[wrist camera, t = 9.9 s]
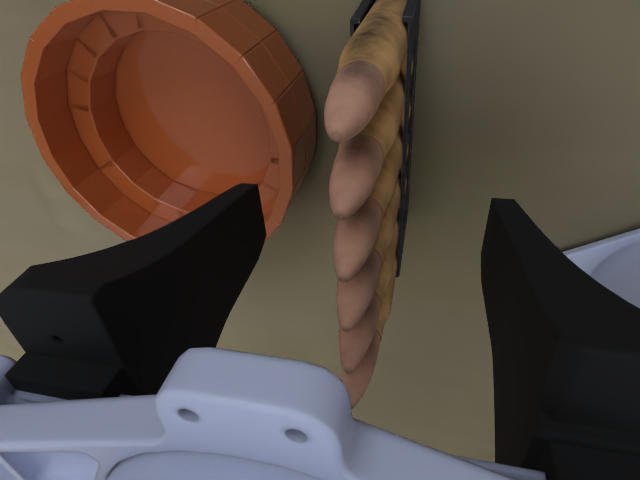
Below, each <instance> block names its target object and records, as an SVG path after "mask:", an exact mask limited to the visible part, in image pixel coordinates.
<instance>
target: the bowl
mask: <svg viewBox="0 0 640 480" xmlns="http://www.w3.org/2000/svg"><path fill="white" fill-rule="evenodd" d="M302 70H303V69H302V67H301V66H300V64H299V63H298V61H297V60H296V58H295V57H294V55H293V54H292V52H291V50H290V49H289V47H288V46H287V44H286V43H285V41H284V40H283V38H282V37H281V35H280V34H279V32H278V31H277V30H276V29H275V28H274V27H273V26H272V25H271V24H270V23H268V22H267V21H266V20H265V19H264V18H263V17H262V16H260V15H259V14H258V13H257V12H256V11H255V10H254V9H252V8H251V7H250V6H249V5H248V4H247V3H245V2H244V1H243V0H70V1H68V2H65V3H63V4H60V5H58V6H56V7H55V8H54V9H53V10H52V11H51V12H50V13H49V15H48V16H47V17H46V18H45V19H44V21H43V22H42V23H41V24H40V25H39V27H38V28H37V29H36V30H35V31H34V33H33V34H32V35H31V37H30V38H29V41H28V46H27V50H26V54H25V58H24V63H23V67H22V71H21V83H22V91H23V99H24V107H25V115H26V119H27V122H28V124H29V127H30V129H31V131H32V134H33V136H34V139H35V141H36V144H37V146H38V148H39V151H40V153H41V156H43V159H44V160H45V162H46V163H47V165H48V166H49V167H50V169H51V170H52V172H53V173H54V175H55V176H56V178H57V179H58V180H59V182H60V183H61V185H62V186H63V188H64V189H65V190H66V191H67V193H68V194H69V195H70V196H71V197H72V198H73V199H74V200H75V201H76V202H77V203H78V204H79V205H80V206H81V207H82V208H83V209H85V210H86V211H87V212H88V213H89V214H90V215H91V216H92V217H93V218H94V219H95V220H97V222H99V223H100V224H102V225H103V226H105V227H106V228H108V229H109V230H111V231H112V232H114V233H115V234H117V235H118V236H120V237H121V238H123V239H124V240H126V241H130V240H132V239H135V238H138V237H140V236H143V235H145V234H147V233H150V232H152V231H154V230H157V229H159V228H161V227H163V226H165V225H167V224H169V223H171V222H173V221H175V220H176V219H178V218H180V217H182V216H184V215H186V214H187V213H189V212H191V211H193V210H195V209H196V208H198V207H200V206H201V205H203V204H205V203H206V202H208V201H210V200H211V199H213V198H215V197H216V196H218V195H220V194H221V193H223V192H225V191H226V190H228V189H230V188H232V187H233V186H235V185H238V184H240V183H248V184H258V188H259V193H260V199H261V205H262V211H263V216H264V222H265V228H266V234H267V236H266V239H265V241H266V240H267V239H268V238H269V237H270V236H271V235H272V234H273V233H274V232H275V231H276V230H277V228H278V227H279V226H280V225H281V224H282V222H283V220H284V218H285V216H286V214H287V212H288V210H289V208H290V207H291V205H292V203H293V201H294V199H295V197H296V195H297V193H298V191H299V189H300V187H301V185H302V183H303V181H304V179H305V176H306V174H307V171H308V168H309V166H310V163H311V160H312V158H313V155H314V152H315V146H316V112H315V108H314V104H313V101H312V98H311V95H310V91H309V88H308V85H307V81H306V78H305V75H304V72H303V71H302Z"/></svg>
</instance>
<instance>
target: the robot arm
mask: <svg viewBox="0 0 640 480" xmlns="http://www.w3.org/2000/svg"><path fill="white" fill-rule="evenodd" d="M266 236H267V234H266V228H265V222H264V216H263V211H262V205H261V199H260V193H259V188H258V184H248V183H240V184H238V185H235V186H233V187H232V188H230V189H228V190H226V191H225V192H223V193H221V194H220V195H218V196H216V197H215V198H213V199H211V200H210V201H208V202H206V203H205V204H203V205H201V206H200V207H198V208H196V209H195V210H193V211H191V212H189V213H187V214H186V215H184V216H182V217H180V218H178V219H176V220H175V221H173V222H171V223H169V224H167V225H165V226H163V227H161V228H159V229H157V230H154V231H152V232H150V233H147V234H145V235H143V236H140V237H138V238H135V239H132V240H130V241H127V242H124V243H121V244H118V245H116V246H113V247H110V248H107V249H103V250H100V251H96V252H93V253H89V254H85V255H82V256H78V257H74V258H69V259H65V260H60V261H55V262H49V263H44V264H39V265H33V266H31V267H29V268H28V269H27V270H26V271H25V272H24V273H23V274H21V275H20V276H19V277H18V278H17V279H16V280H15V281H13V282H12V283H11V284H10V285H9V286H8V287H7V288H6V289H4V290H3V291H2V292H1V293H0V316H1V318H2V320H3V321H4V323H5V324H6V326H7V327H8V328H9V330H10V331H11V333H12V334H13V335H14V337H15V338H16V340H17V341H18V342H19V344H20V345H21V346H22V348H23V349H24V351H25V352H26V353H25V354H24V355H23V356H22V357H21V358H20V359H19V360H18V361H17V362H16V361H15V360H14V359H12V358H10V357H8V356H5V355H0V480H640V229H636V230H633V231H630V232H626V233H623V234H620V235H617V236H613V237H610V238H607V239H603V240H600V241H597V242H594V243H590V244H587V245H584V246H580V247H577V248H574V249H571V250H567V251H564V252H561V251H560V250H559V249H558V248H557V247H556V246H555V245H554V244H553V243H552V242H551V241H550V240H549V239H548V238H547V237H546V236H545V235H544V234H543V233H542V231H541V230H540V229H539V228H538V227H537V226H536V225H535V223H534V222H533V221H532V220H531V219H530V218H529V216H528V215H527V214H526V213H525V212H524V210H523V209H522V208H521V207H520V206H519V204H518V203H517V202H516V201H515V200H514V199H499V198H492V199H491V205H490V210H489V215H488V220H487V225H486V230H485V235H484V241H483V246H482V251H481V282H482V289H483V295H484V302H485V308H486V314H487V320H488V327H489V333H490V339H491V346H492V356H493V378H494V409H495V463H493V462H487V461H482V460H477V459H471V458H466V457H460V456H455V455H450V454H447V453H444V452H442V451H439V450H437V449H434V448H431V447H429V446H426V445H423V444H421V443H418V442H415V441H413V440H410V439H407V438H405V437H402V436H400V435H397V434H394V433H392V432H389V431H386V430H384V429H381V428H378V427H376V426H373V425H370V424H368V423H365V422H362V421H360V420H357V419H355V418H353V417H352V413H351V397H350V395H349V393H348V391H347V388H346V386H345V384H344V382H343V381H342V380H341V379H340V378H338V377H337V376H336V375H334V374H333V373H331V372H330V371H329V370H327V369H326V368H324V367H321V366H318V365H315V364H312V363H309V362H306V361H300V360H293V359H287V358H280V357H273V356H267V355H260V354H253V353H247V352H240V351H234V350H227V349H220V348H216V345H217V342H218V340H219V337H220V335H221V332H222V330H223V327H224V325H225V322H226V320H227V318H228V316H229V314H230V311H231V309H232V308H233V306H234V304H235V302H236V300H237V298H238V296H239V295H240V293H241V291H242V289H243V287H244V285H245V283H246V282H247V280H248V278H249V276H250V274H251V272H252V270H253V268H254V267H255V265H256V263H257V261H258V259H259V256H260V253H261V250H262V248H263V245H264V242H265V239H266Z"/></svg>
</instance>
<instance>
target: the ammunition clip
mask: <svg viewBox="0 0 640 480" xmlns="http://www.w3.org/2000/svg"><path fill="white" fill-rule="evenodd" d="M419 13H420V0H363V1H362V3H361V4H360V6H359V7H358V9H357V10H356V12H355V13H354V15H353V16H352V18H351V20H350V35H351V38H350V40H349V41H348V43H347V44H346V46H345V47H344V49H343V51H342V53H341V56H340V60H339V65H338V70H337V72H336V76H335V79H334V80H333V82H332V84H331V87H330V90H329V93H328V96H327V100H326V103H325V109H324V119H325V129H326V132H327V134H328V136H329V138H330V139H331V140H332V141H334V142H340V144H339V147H338V150H337V155H336V157H335V160H334V163H333V166H332V171H331V176H330V183H329V195H330V205H331V209H332V212H333V214H334V216H335V218H336V219H338V220H337V223H336V228H335V234H334V243H333V255H334V267H335V271H336V274H337V277H338V283H337V315H338V320H339V324H340V331H339V346H340V358H341V363H342V381H343V382H344V384H345V386H346V388H347V391H348V393H349V395H350V397H351V409H352V408H354V407H355V406H356V405H357V403H358V402H359V401H360V399H361V397H362V396H363V394H364V392H365V390H366V388H367V386H368V384H369V381H370V379H371V376H372V374H373V370H374V367H375V364H376V360H377V356H378V350H379V344H380V341H381V338H382V334H383V329H384V325H385V322H386V320H387V318H388V315H389V313H390V310H391V305H392V298H393V291H394V285H395V278H396V277H399V275H400V268H401V260H402V253H403V245H404V238H405V230H406V223H407V215H408V200H409V183H410V166H411V149H412V132H413V115H414V98H415V81H416V64H417V47H418V30H419Z"/></svg>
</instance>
